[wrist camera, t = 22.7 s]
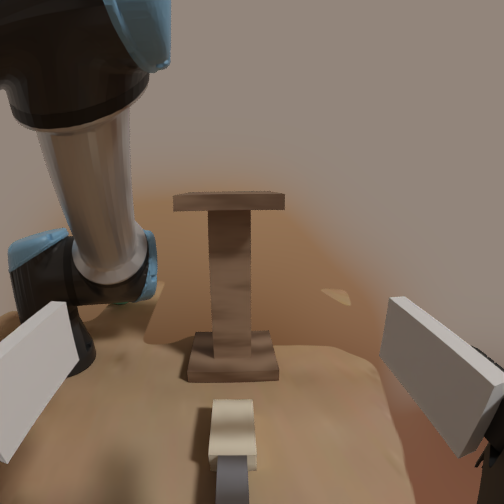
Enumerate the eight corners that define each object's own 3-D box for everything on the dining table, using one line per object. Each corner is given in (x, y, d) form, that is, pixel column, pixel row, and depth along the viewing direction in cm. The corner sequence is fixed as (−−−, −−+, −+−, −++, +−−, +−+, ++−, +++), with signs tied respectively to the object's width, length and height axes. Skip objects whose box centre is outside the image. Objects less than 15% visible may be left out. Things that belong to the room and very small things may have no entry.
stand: (196, 338, 60) (189, 192, 54) (268, 337, 61) (269, 191, 55) (187, 385, 44) (173, 195, 38) (279, 383, 45) (284, 193, 39)
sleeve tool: (214, 416, 38) (213, 399, 37) (252, 415, 38) (252, 399, 37) (205, 560, 16) (200, 549, 16) (263, 560, 16) (264, 550, 16)
